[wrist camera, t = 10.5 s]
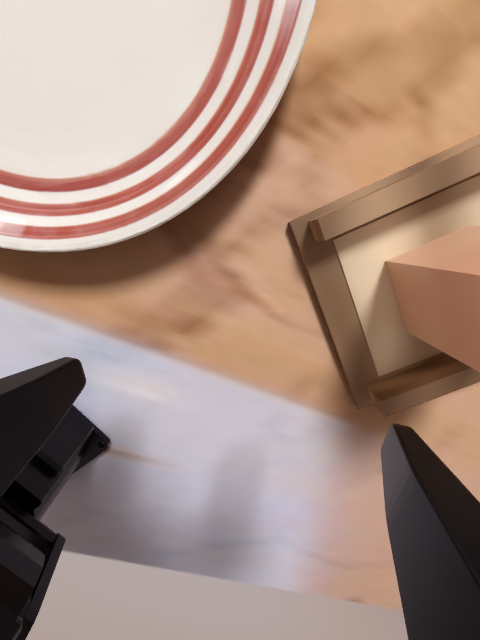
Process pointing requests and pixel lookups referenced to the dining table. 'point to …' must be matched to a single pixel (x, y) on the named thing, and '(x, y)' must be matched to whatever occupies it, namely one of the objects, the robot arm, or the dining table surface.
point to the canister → (442, 293)
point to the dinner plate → (131, 109)
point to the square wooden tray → (374, 281)
